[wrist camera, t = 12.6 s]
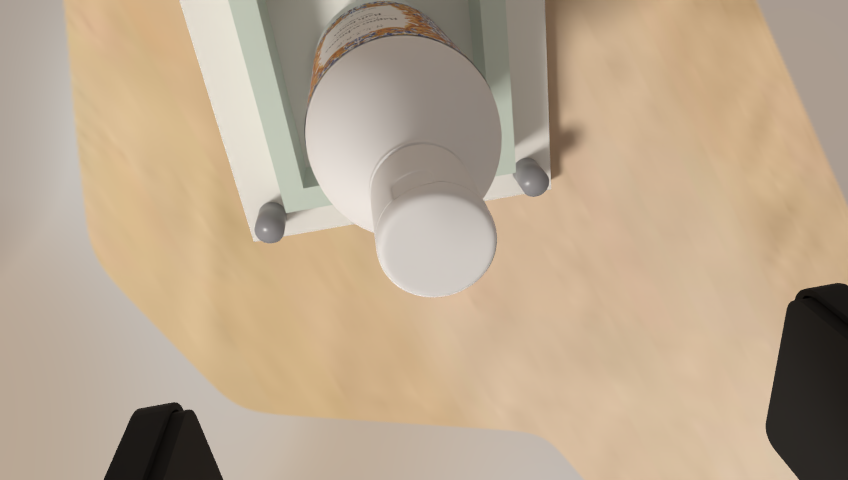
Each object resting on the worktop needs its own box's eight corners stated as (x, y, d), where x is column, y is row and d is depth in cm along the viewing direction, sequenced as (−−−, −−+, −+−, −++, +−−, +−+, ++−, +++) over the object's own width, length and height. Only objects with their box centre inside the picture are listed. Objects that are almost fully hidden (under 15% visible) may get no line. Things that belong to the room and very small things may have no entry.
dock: (533, -163, 29) (560, -175, 25) (546, 182, 37) (567, 210, 34) (152, -108, 28) (125, -111, 24) (255, 234, 36) (247, 267, 33)
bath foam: (417, -29, 30) (534, 49, 12) (464, 98, 33) (610, 302, 16) (290, 29, 30) (230, 183, 13) (349, 149, 34) (366, 400, 16)
